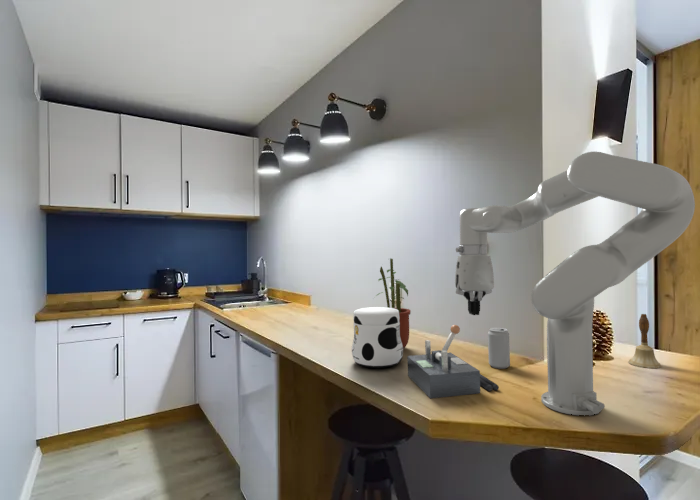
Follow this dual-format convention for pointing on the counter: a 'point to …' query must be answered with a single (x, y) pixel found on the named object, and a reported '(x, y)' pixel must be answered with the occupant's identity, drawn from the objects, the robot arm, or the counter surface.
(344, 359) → the counter surface
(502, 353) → the beverage can
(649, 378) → the counter surface
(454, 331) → the lever
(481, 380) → the cord bundle
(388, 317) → the milk container
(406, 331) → the potted plant
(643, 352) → the hand bell
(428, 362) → the breaker panel
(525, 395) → the counter surface
